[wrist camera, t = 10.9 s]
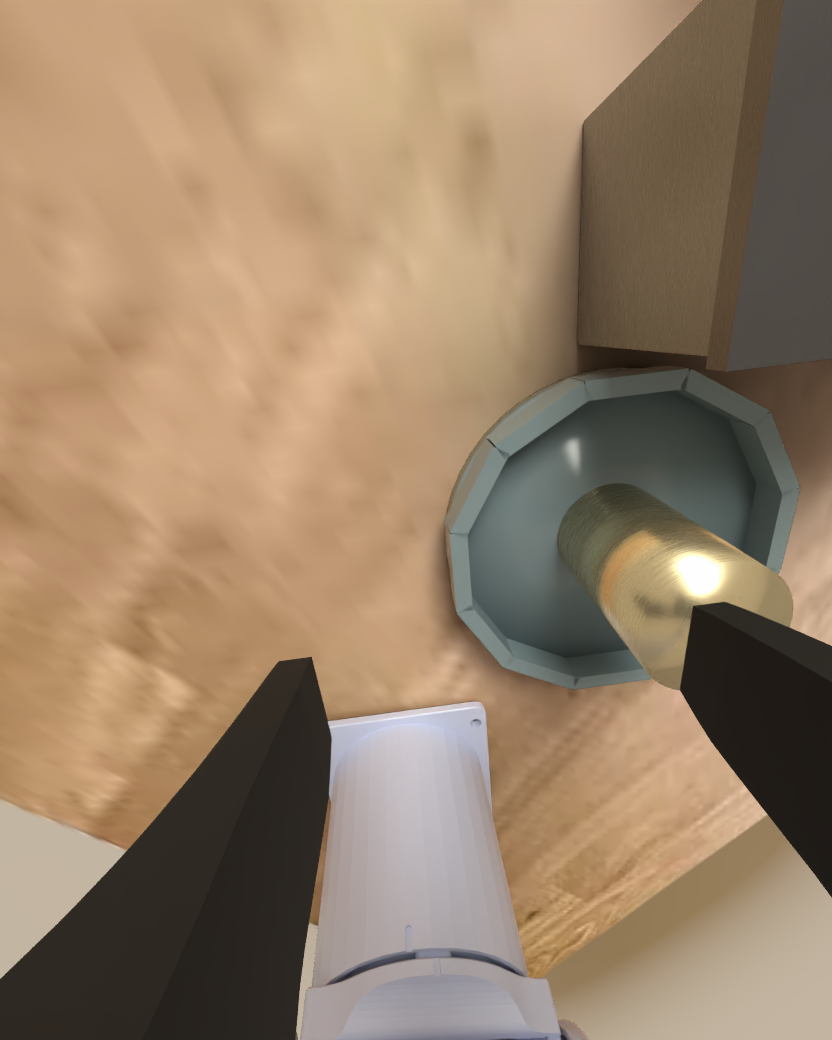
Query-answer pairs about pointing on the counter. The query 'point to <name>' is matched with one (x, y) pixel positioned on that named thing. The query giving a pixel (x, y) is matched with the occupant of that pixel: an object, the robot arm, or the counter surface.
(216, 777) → the robot arm
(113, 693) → the counter surface
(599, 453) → the plate
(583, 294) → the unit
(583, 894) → the counter surface
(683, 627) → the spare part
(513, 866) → the counter surface
